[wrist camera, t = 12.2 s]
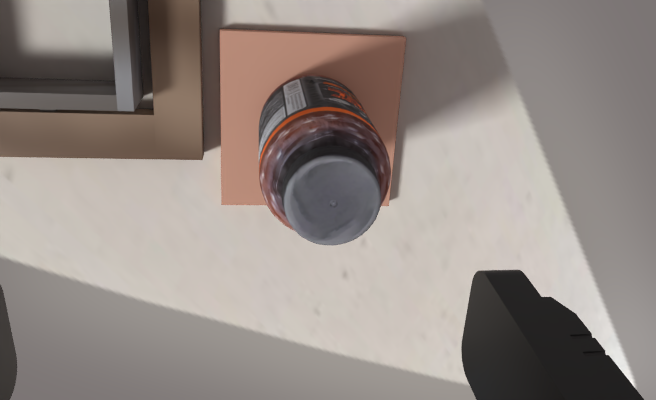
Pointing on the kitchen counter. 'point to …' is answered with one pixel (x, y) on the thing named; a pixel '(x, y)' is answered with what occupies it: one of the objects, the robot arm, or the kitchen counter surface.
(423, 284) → the kitchen counter surface
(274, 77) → the mat
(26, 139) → the wooden square tray
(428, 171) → the kitchen counter surface
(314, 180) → the supplement bottle
